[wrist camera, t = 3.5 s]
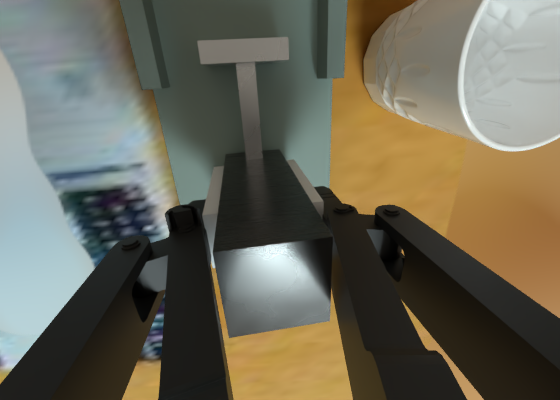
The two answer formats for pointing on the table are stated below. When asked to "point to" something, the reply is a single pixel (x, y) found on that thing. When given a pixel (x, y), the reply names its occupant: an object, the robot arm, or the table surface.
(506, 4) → the white cup
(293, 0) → the grey-green piece
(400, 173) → the table surface
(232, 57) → the grey t-handle tool
